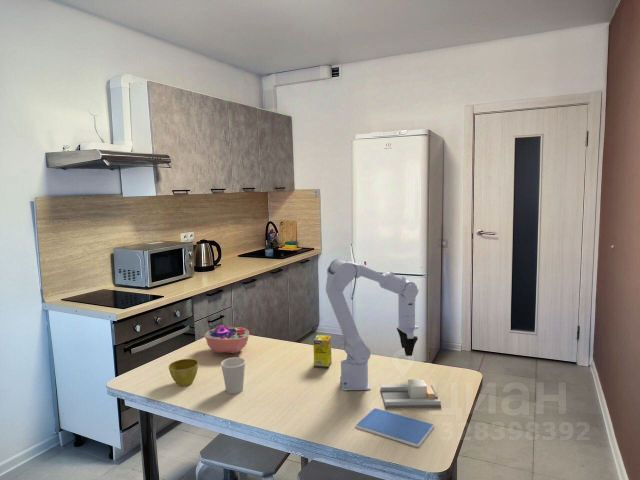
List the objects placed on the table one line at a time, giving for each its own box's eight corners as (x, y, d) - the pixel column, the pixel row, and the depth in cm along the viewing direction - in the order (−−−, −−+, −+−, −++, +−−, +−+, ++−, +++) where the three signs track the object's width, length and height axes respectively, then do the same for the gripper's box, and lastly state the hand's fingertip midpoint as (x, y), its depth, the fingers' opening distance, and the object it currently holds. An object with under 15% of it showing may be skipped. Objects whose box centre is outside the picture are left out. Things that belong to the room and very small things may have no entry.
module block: (410, 400, 140) (410, 386, 140) (408, 392, 145) (408, 379, 145) (426, 399, 140) (426, 386, 140) (423, 392, 145) (423, 379, 145)
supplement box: (329, 368, 168) (328, 340, 166) (313, 367, 169) (312, 340, 168) (332, 362, 174) (331, 335, 172) (316, 361, 175) (316, 334, 173)
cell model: (231, 363, 175) (230, 335, 174) (196, 354, 186) (195, 327, 185) (259, 349, 189) (258, 323, 188) (225, 341, 200) (224, 317, 199)
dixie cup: (232, 383, 158) (230, 355, 156) (251, 387, 154) (250, 359, 153) (216, 393, 150) (215, 364, 149) (237, 397, 146) (235, 368, 145)
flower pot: (163, 386, 156) (162, 367, 155) (183, 375, 165) (182, 357, 164) (185, 391, 152) (184, 371, 151) (205, 380, 161) (204, 361, 160)
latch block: (428, 401, 139) (428, 393, 139) (422, 389, 147) (422, 382, 146) (434, 401, 139) (434, 393, 139) (428, 389, 147) (428, 382, 146)
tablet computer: (353, 429, 127) (353, 425, 127) (374, 410, 137) (374, 406, 137) (418, 450, 116) (418, 445, 116) (435, 428, 126) (435, 423, 126)
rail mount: (385, 408, 137) (385, 400, 137) (380, 389, 149) (380, 382, 149) (441, 407, 137) (441, 399, 136) (431, 388, 149) (431, 382, 149)
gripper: (422, 320, 149) (422, 359, 150) (414, 308, 163) (414, 344, 165) (401, 320, 149) (401, 359, 151) (394, 308, 163) (395, 344, 165)
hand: (406, 351), depth 158 cm, fingers open, 7 cm apart
